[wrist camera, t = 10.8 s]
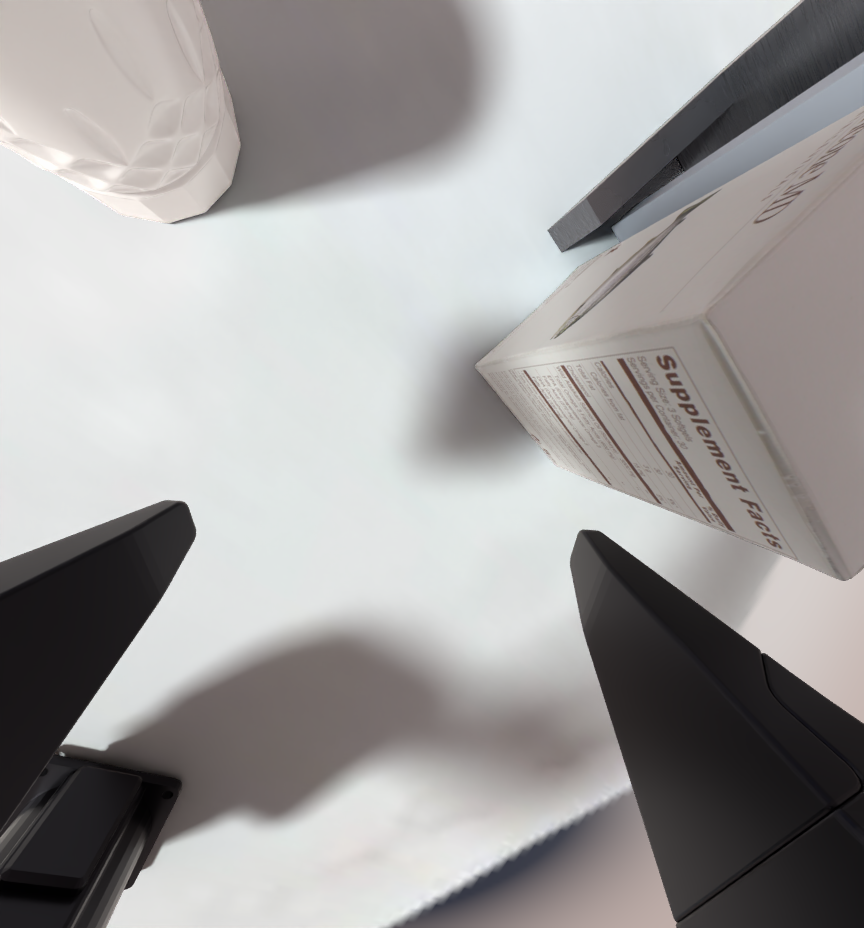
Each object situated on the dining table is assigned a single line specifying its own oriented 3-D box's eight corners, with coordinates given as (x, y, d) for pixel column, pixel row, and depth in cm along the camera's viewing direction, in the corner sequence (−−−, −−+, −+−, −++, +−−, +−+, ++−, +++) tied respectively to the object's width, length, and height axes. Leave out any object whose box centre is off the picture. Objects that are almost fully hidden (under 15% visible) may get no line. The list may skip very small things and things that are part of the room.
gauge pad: (710, 397, 20) (1047, 403, 10) (610, 227, 17) (948, 8, 7) (730, 379, 20) (1086, 366, 10) (634, 205, 17) (1000, -41, 7)
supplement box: (576, 263, 18) (1039, -9, 6) (650, 379, 20) (1108, 359, 8) (466, 364, 18) (704, 305, 6) (552, 471, 20) (862, 597, 8)
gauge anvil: (669, 421, 21) (942, 446, 11) (547, 230, 17) (786, 27, 8) (814, 284, 21) (1207, 192, 11) (722, 69, 18) (1166, -324, 8)
